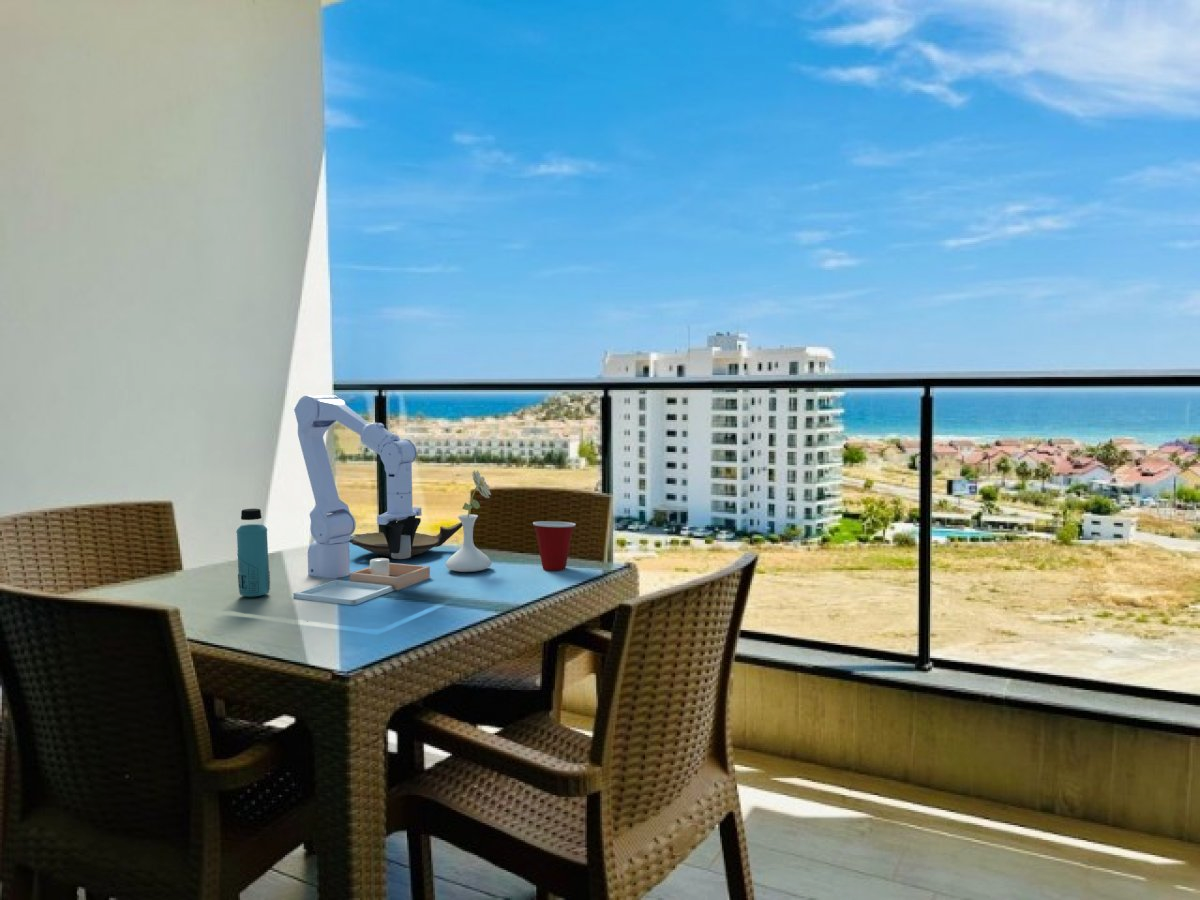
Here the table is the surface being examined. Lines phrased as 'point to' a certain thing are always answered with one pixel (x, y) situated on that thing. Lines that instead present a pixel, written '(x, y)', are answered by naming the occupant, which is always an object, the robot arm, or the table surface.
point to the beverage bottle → (253, 556)
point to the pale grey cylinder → (379, 566)
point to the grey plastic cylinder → (403, 548)
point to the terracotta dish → (403, 571)
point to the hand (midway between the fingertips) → (400, 551)
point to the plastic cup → (554, 543)
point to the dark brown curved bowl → (420, 542)
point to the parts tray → (344, 592)
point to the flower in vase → (470, 536)
